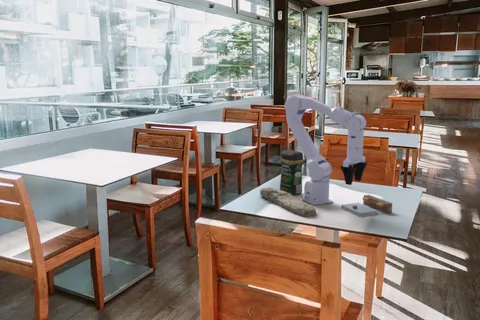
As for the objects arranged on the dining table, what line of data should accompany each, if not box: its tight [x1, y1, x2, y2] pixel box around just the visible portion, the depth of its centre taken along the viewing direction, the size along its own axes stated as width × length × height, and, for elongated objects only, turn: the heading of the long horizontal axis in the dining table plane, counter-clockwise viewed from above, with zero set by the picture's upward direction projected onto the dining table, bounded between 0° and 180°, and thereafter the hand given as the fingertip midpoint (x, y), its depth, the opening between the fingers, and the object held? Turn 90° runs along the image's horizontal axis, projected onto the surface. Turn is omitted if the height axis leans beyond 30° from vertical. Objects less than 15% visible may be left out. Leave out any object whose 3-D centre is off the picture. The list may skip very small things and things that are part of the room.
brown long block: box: [362, 194, 393, 214], centre depth 165 cm, size 4×13×4 cm, turn 23°
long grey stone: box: [259, 187, 317, 218], centre depth 171 cm, size 35×5×10 cm
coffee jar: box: [279, 149, 304, 196], centre depth 186 cm, size 10×8×19 cm
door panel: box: [341, 202, 379, 217], centre depth 162 cm, size 8×11×3 cm
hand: (353, 182), depth 166 cm, fingers open, 7 cm apart
